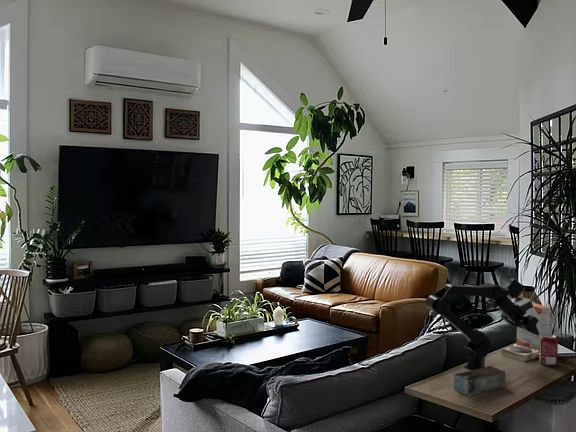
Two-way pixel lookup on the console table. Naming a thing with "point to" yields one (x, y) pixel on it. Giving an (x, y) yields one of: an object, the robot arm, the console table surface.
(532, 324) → the robot arm
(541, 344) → the soda can
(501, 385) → the grey rectangular block
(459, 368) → the console table surface
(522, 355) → the beige square dish
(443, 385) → the console table surface
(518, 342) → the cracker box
